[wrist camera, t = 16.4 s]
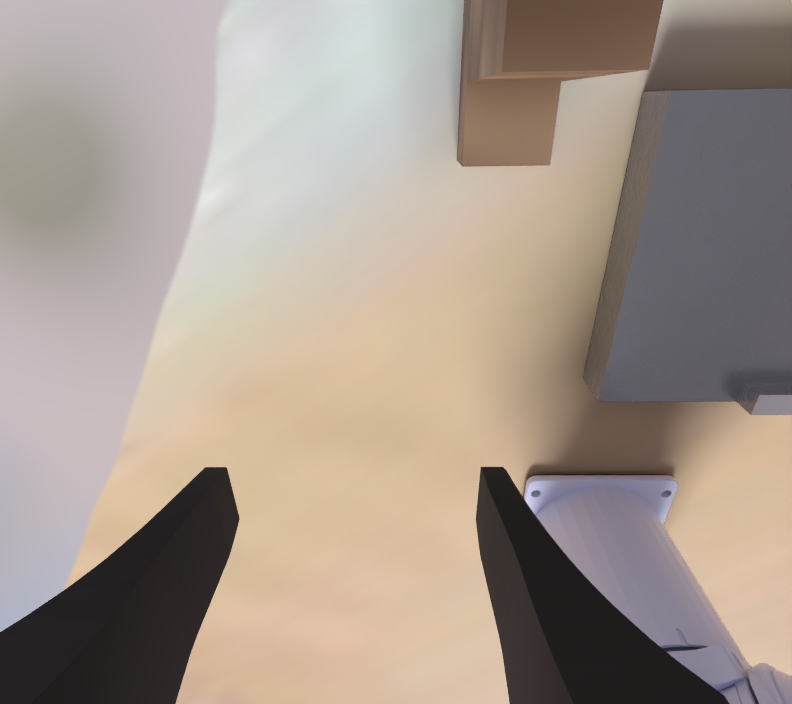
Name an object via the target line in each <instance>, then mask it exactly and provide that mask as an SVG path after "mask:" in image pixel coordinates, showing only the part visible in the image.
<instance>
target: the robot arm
mask: <svg viewBox="0 0 792 704" xmlns="http://www.w3.org/2000/svg"><path fill="white" fill-rule="evenodd" d="M677 487H678V483H677V481H676V480H675V478H674V477H672V476H669V475H537V476H532V477H530V478H529V479H528V480H527V482H526V487H525V493H524V498H523V497H522V495H521V494H520V492H519V491H518V489H517V487H516V486H515V484H514V483H513V481H512V479H511V478H510V476H509V474H508V473H507V471H506V470H505V469H504V468H503V467H481V472H480V482H479V493H478V503H477V513H476V523H477V532H478V540H479V548H480V555H481V560H482V564H483V569H484V573H485V577H486V582H487V586H488V590H489V594H490V599H491V603H492V607H493V612H494V616H495V620H496V624H497V629H498V633H499V637H500V643H501V648H502V653H503V659H504V666H505V673H506V680H507V687H508V694H509V701H510V704H792V676H790V675H788V674H786V673H783V672H781V671H779V670H776V669H775V668H774V667H772V666H770V665H768V664H766V663H759V664H758V665H756V666H754V667H751V666H750V665H749V664H748V662H747V661H746V659H745V658H744V656H743V654H742V653H741V651H740V649H739V648H738V646H737V645H736V643H735V641H734V640H733V638H732V636H731V635H730V633H729V631H728V630H727V628H726V627H725V625H724V623H723V622H722V620H721V618H720V617H719V615H718V614H717V612H716V610H715V609H714V607H713V605H712V604H711V602H710V601H709V599H708V597H707V596H706V594H705V592H704V591H703V589H702V587H701V586H700V584H699V583H698V581H697V579H696V578H695V576H694V574H693V573H692V571H691V570H690V568H689V566H688V565H687V563H686V561H685V560H684V558H683V556H682V555H681V553H680V552H679V550H678V548H677V547H676V545H675V543H674V542H673V540H672V539H671V537H670V535H669V534H668V532H667V530H666V529H665V527H664V526H663V525H664V522H665V519H666V517H667V514H668V511H669V509H670V506H671V503H672V501H673V498H674V495H675V493H676V490H677ZM535 490H538V491H536V492H533V491H535ZM238 522H239V515H238V511H237V507H236V503H235V499H234V495H233V491H232V487H231V483H230V479H229V475H228V471H227V467H205V468H204V469H203V470H202V471H201V472H200V473H199V474H198V475H197V476H196V477H195V478H194V479H193V480H192V481H191V482H190V483H189V484H188V485H187V486H186V487H185V488H183V489H182V490H181V491H180V492H179V493H178V494H177V495H176V496H175V497H174V498H173V499H172V500H171V501H170V502H169V503H168V504H167V505H166V506H165V507H164V508H163V509H162V510H161V511H160V512H158V513H157V514H156V515H155V516H154V517H153V518H152V519H151V520H150V521H149V522H148V523H147V524H146V525H145V526H144V527H142V528H141V529H140V530H139V531H138V532H137V533H135V534H134V535H133V536H132V537H131V538H130V539H129V540H127V541H126V542H125V543H124V544H123V545H122V546H121V547H119V548H118V549H117V550H116V551H115V552H114V553H112V554H111V555H110V556H109V557H108V558H106V559H105V560H104V561H103V562H101V563H100V564H99V565H97V566H96V567H95V568H94V569H92V570H91V571H90V572H88V573H87V574H86V575H84V576H83V577H82V578H80V579H79V580H78V581H76V582H75V583H74V584H72V585H71V586H70V587H68V588H67V589H65V590H64V591H62V592H61V593H59V594H58V595H57V596H55V597H54V598H52V599H51V600H49V601H48V602H46V603H45V604H43V605H42V606H40V607H39V608H38V609H36V610H35V611H33V612H32V613H30V614H29V615H27V616H26V617H24V618H22V619H21V620H19V621H18V622H16V623H14V624H13V625H11V626H10V627H8V628H6V629H5V630H3V631H2V632H0V704H175V703H176V700H177V696H178V693H179V689H180V686H181V683H182V679H183V676H184V673H185V670H186V666H187V663H188V660H189V656H190V653H191V650H192V648H193V645H194V642H195V639H196V637H197V634H198V631H199V629H200V627H201V624H202V622H203V619H204V617H205V614H206V612H207V609H208V607H209V605H210V602H211V600H212V597H213V595H214V592H215V590H216V588H217V585H218V583H219V580H220V578H221V575H222V573H223V570H224V568H225V565H226V563H227V560H228V558H229V555H230V552H231V548H232V545H233V541H234V538H235V534H236V530H237V526H238Z"/></svg>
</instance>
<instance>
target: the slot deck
mask: <svg viewBox="0 0 792 704" xmlns="http://www.w3.org/2000/svg"><path fill="white" fill-rule="evenodd" d="M583 379H584V380H585V382H586V383H587V385H588V386H589V388H590V390H591V391H592V393H593V394H594V396H595V397H596V399H597V400H598V402H688V401H736V402H737V403H738V404H739V405H741V406H742V407H743V408H744V409H745V410H746V411H747V412H748V413H749V414H751V415H792V88H784V89H726V90H670V91H647V92H643V94H642V99H641V104H640V109H639V114H638V118H637V123H636V128H635V133H634V137H633V142H632V147H631V152H630V157H629V161H628V166H627V171H626V176H625V180H624V185H623V190H622V195H621V199H620V204H619V209H618V214H617V219H616V223H615V228H614V233H613V238H612V242H611V247H610V252H609V257H608V261H607V266H606V271H605V276H604V281H603V285H602V290H601V295H600V300H599V304H598V309H597V314H596V319H595V323H594V328H593V333H592V338H591V343H590V347H589V352H588V357H587V362H586V366H585V371H584V376H583Z"/></svg>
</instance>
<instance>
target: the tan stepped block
mask: <svg viewBox="0 0 792 704" xmlns="http://www.w3.org/2000/svg"><path fill="white" fill-rule="evenodd" d="M662 4H663V0H464V14H463V37H462V59H461V82H460V104H459V126H458V149H457V161H458V162H459V163H460V164H461V165H462V166H533V165H550V160H551V153H552V145H553V138H554V130H555V123H556V115H557V108H558V100H559V93H560V86H561V81H567V80H574V79H582V78H589V77H597V76H604V75H612V74H619V73H626V72H634V71H641V70H649V66H650V61H651V57H652V52H653V47H654V42H655V37H656V33H657V28H658V23H659V18H660V14H661V9H662Z"/></svg>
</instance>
